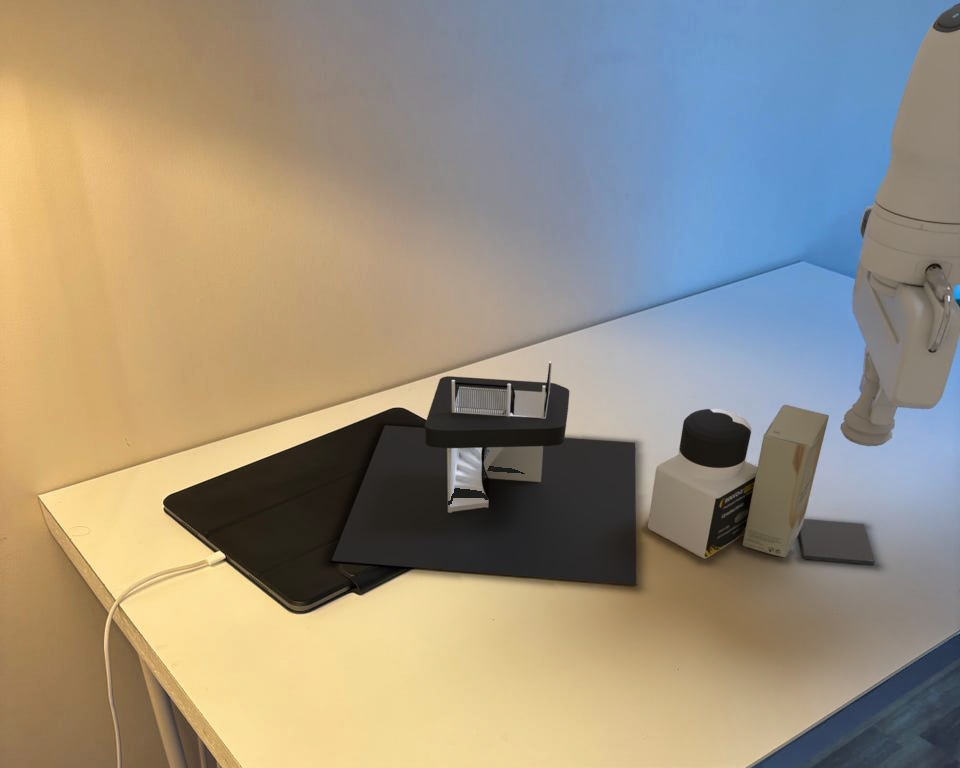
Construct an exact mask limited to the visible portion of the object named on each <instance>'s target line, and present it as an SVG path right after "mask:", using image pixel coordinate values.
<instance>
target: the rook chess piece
mask: <svg viewBox="0 0 960 768" xmlns="http://www.w3.org/2000/svg"><path fill="white" fill-rule="evenodd" d="M867 359H868V361H869V364H870V366H871V368H870V370H869V371H868V372H867V373H866V375H865V376H866V378H867V379H866V383H865V386H864V388H863V390H862V392H860V395H859V397H858V398H857V400H856V402H855V403H853V404H852V406H851V408H850V409H848V410H847V411H846V412H845V414H844V416H843V422H842V423H840V428H839V429H840V431H841V434H842V435H843V437H844V438H845V439H846V440H847V441H849V442H850V443H854V444H855V445H856V444H857V445H858V446H859V445H860V446H866V447H879V446H883V445H884V444H886V443H887V442H888V441H890V440H891V439H892V438H893V430H895V423H896V422H895V421H896V420H895V418H894V419H893V421H892V423H891V424H889V425H876V424H873V423H871V420H870V417H869V413H868V411H869V408H870V404H871V401H872V397H876V395H877V393H878V391H879V388H880V386H879V381H880V379H879V377H878V374H877V371H876V369H875V366H874V364H873V361H872V359H871V356H870V355H868V358H867Z"/></svg>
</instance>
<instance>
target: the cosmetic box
mask: <svg viewBox="0 0 960 768" xmlns="http://www.w3.org/2000/svg"><path fill="white" fill-rule="evenodd" d="M829 417H830V415H829V414H826V413H822V412H818V411H814V410H809V409H805V408H800V407H796V406H793V405H789V404H783V405H782V406H781V408H779V411H778V412H777V414H776V415H775V417H774V418H773V420H772V421H771V423H770V425H769V426H768V428H767V430H766V431H765V432H764V434H763V437H762V442H761V448H760V452H759V458H758V463H757V472H756V478H755V483H754V488H753V493H752V498H751V503H750V508H749V514H748V519H747V523H746V528H745V534H744V535H743V539H742V546H743V547H745V548H748V549H749V548H750V549H752V550H756V551H759V552H762V553H765V554H769V555H772V556H773V555H774V556H776V557H780V558H786V557H787V556H788V554H789V552H790V551H791V549H792V547H793V546H794V544H795V542H796V540H797V538H798V536H799V532H800V529H801V527H802V525H803V521H804V519H805V517H806V512H807V509H808V505H809V500H810V496H811V491H812V488H813V483H814V479H815V475H816V471H817V468H818V463H819V458H820V454H821V450H822V446H823V443H824V438H825V434H826V430H827V426H828V422H829Z"/></svg>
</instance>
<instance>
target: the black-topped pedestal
mask: <svg viewBox="0 0 960 768" xmlns="http://www.w3.org/2000/svg"><path fill="white" fill-rule="evenodd" d="M552 363H553V362H552V361H548V369H547V370H548V371H547V379H546V382H545V381H529V380H526V381H525V380H514V379H513V380H512V379H497V378H482V377H469V376H467V377H466V376H451V375H447V376H443V377H441V378H440V379H439V381H438V383H437V387H436V389H435V393H434V396H433V398H432V402H431V404H430V408H429V411H428V414H427V417H426V419H425V423H424V427H417V426H416V427H415V426H401V425H387V424H386V425H385V424H384V426H383V429H382V431H381V433H380V437H379V439H378V441H377V444H376V447H375V448H374V452H373V454H372V457H371V460H370V462H369V464H368V466H367V470H366V472H365V475H364V477H363V479H362V481H361V482H362V483H361V484H360V487H359V490H358V493H357V495H356V497H355V499H354V502H353V504H352V507H351V510H350V513H349V515H348V518H347V521H346V523H345V525H344V528H343V530H342V532H341V536H340V537H339V540H338V543H337V545H336V549H335V550H334V553H333V556H332V558H331V562H343V563H355V564H368V565H379V566H391V567H404V568H418V569H429V570H430V569H431V570H443V571H456V572H468V573H480V574H491V575H502V576H503V575H504V576H505V575H506V576H518V577H530V578H541V579H543V578H544V579H552V580H553V579H554V580H565V581H567V580H569V581H580V582H591V583H605V584H616V585H617V584H618V585H627V586H628V585H629V586H637V502H636V501H637V497H636V494H637V493H636V489H637V487H636V484H637V483H636V442H634V441H621V440H620V441H617V440H606V439H605V440H604V439H590V438H576V437H566V429H567V421H568V413H569V404H570V389H569V388H567V387H565V386H563V385H561V384H558V383H555V382H551V379H552V377H551V376H552ZM489 466H494V467H502V468H512V469H515V470H518V471H520V472H523V473H525V474H521V473H507V472H493V471H487V470H488V468H489ZM455 488H460V489H470V490H477V491H482V493H484V494H485V495H486V496H487V497H488V500H485V499H484V498H453V501H452V504H450V505H448V501H450V500H451V496H452V494H453V493H454V489H455Z"/></svg>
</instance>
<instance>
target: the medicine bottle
mask: <svg viewBox="0 0 960 768" xmlns="http://www.w3.org/2000/svg"><path fill="white" fill-rule="evenodd" d="M681 429H682V430H681V436H680V441H679V448H678V454H677V455H675V456H673V457H671V458H669V459H667V460H665V461H663V462H662V463H659V464H658V465H657V466H656V468H655V474H654V481H653V487H652V495H651V501H650V507H649V514H648V515H649V516H648V522H647V528H648V530H650V531H651V532H654V533H655V534H657V535H659V536H661V537H662V538H664V539H666V540H668V541H670V542H672V543H674V544H675V545H678V546H679V547H681V548H682V549H685V550H687V551H688V552H690V553H692V554H694V555H696V556H698V557H700V558H702V559H704V560H705V559H707V558H709V557H711V556H713V555H715V554H716V553H717V552H720V550H722V549H724V548H725V547H727V546H728V545H730V544H731V543H733V542H734V541H737V540H738V539H739V538H741V537H742V536H744V534H745V528H746V523H747V519H748V514H749V508H750V503H751V498H752V493H753V488H754V483H755V478H756V472H757V467H758V465H754V464H753V463H750V462H748V461H746V460H747V453H748V450H749V444H750V440H751V435H752V426H751V425H750V422H749V421H748V420H747V419H746V418H745V417H743V416H742V415H740V414H738V413H736V412H733V411H729V410H727V409H723V408H703V409H698V410H696V411H694V412H692V413H690V414H689V415H687V416H686V417H685V418H684V420H683V423H682V428H681Z"/></svg>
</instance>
